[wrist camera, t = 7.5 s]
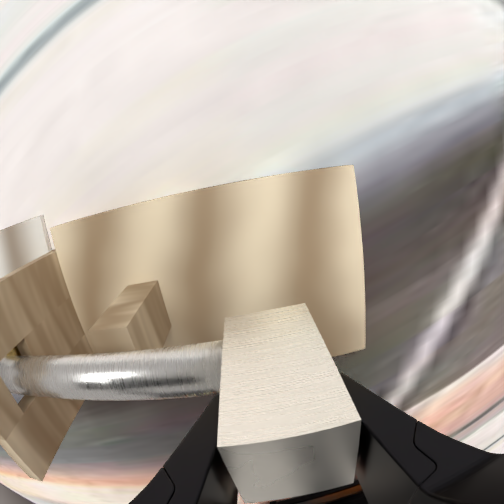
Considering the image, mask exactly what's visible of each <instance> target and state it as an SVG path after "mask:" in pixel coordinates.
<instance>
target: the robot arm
mask: <svg viewBox="0 0 504 504" xmlns="http://www.w3.org/2000/svg"><path fill="white" fill-rule="evenodd" d="M339 374H340V376H341V378H342V380H343V382H344V384H345V386H346V388H347V390H348V392H349V395H350V397H351V399H352V401H353V403H354V405H355V407H356V409H357V412H358V414H359V416H360V418H361V429H360V438H359V447H358V455H357V463H356V470H355V476H354V483H351V484H348V485H344V486H340V487H337V488H333V489H329V490H325V491H320V492H316V493H311V494H306V495H301V496H296V497H291V499H286V500H282V501H272V502H270V504H504V454H495V453H489V452H486V451H483V450H480V449H478V448H475V447H472V446H470V445H467V444H465V443H462V442H460V441H457V440H455V439H452V438H450V437H448V436H446V435H444V434H441V433H439V432H437V431H436V430H434V429H432V428H430V427H428V426H426V425H425V424H423V423H421V422H420V421H417V420H416V419H414V418H413V417H411V416H410V415H408V414H406V413H405V412H403V411H401V410H400V409H398V408H396V407H395V406H393V405H392V404H390V403H388V402H387V401H385V400H384V399H382V398H380V397H379V396H377V395H376V394H374V393H373V392H371V391H369V390H368V389H366V388H365V387H363V386H362V385H360V384H359V383H357V382H355V381H354V380H352V379H351V378H349V377H348V376H346V375H345V374H343V373H339ZM219 399H220V394H217V395H215V397H214V398H213V399H212V401H211V402H210V404H209V405H208V406H207V408H206V409H205V411H204V412H203V413H202V415H201V416H200V418H199V419H198V420H197V422H196V423H195V424H194V426H193V427H192V428H191V430H190V431H189V433H188V434H187V435H186V437H185V438H184V439H183V441H182V442H181V443H180V445H179V446H178V447H177V449H176V450H175V451H174V453H173V454H172V455H171V456H170V458H169V459H168V460H167V462H166V463H165V464H164V466H163V468H161V469H160V470H159V472H158V473H157V474H156V476H155V477H154V478H153V479H152V480H151V481H150V483H149V484H148V485H147V486H146V487H145V488H144V489H143V490H142V491H141V492H140V493H139V494H138V495H137V496H136V497H135V498H134V499H133V500H132V501H131V502H130V503H129V504H237V494H238V489H237V487H236V485H235V483H234V481H233V480H232V478H231V476H230V474H229V471H228V469H227V467H226V465H225V463H224V461H223V459H222V457H221V455H220V453H219V451H218V448H217V436H218V417H219Z"/></svg>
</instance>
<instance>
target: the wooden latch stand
mask: <svg viewBox="0 0 504 504" xmlns="http://www.w3.org/2000/svg"><path fill="white" fill-rule="evenodd" d="M50 231H51V235H52V238H53V242H54V246H55V250H52V249H51V245H50V241H49V238H48V234H47V230H46V225H45V221H44V217H43V215H40V216H37V217H34V218H32V219H29V220H26V221H24V222H21V223H18V224H16V225H13V226H10V227H8V228H5V229H3V230H0V361H1V360H2V359H3V358H4V357H5V356H6V355H7V354H8V353H9V352H10V351H11V350H12V349H13V348H14V347H15V346H16V345H17V348H18V350H19V352H20V354H21V356H47V355H78V354H96V353H111V352H124V351H136V350H146V349H156V348H165V347H174V346H182V345H190V344H197V343H204V342H211V341H218V340H223V336H224V322H225V318H226V317H232V316H238V315H244V314H250V313H255V312H261V311H266V310H271V309H277V308H282V307H287V306H292V305H297V304H302V303H305V304H306V306H307V308H308V310H309V312H310V314H311V316H312V318H313V320H314V322H315V324H316V326H317V328H318V330H319V332H320V334H321V336H322V339H323V341H324V343H325V345H326V347H327V349H328V351H329V353H330V355H331V357H335V356H339V355H343V354H347V353H351V352H354V351H358V350H362V349H365V284H364V263H363V248H362V235H361V224H360V214H359V205H358V196H357V188H356V180H355V173H354V166H353V165H344V166H336V167H328V168H320V169H313V170H306V171H299V172H292V173H286V174H279V175H273V176H267V177H261V178H255V179H250V180H244V181H239V182H233V183H228V184H223V185H218V186H213V187H208V188H203V189H198V190H193V191H188V192H184V193H179V194H175V195H170V196H166V197H162V198H157V199H153V200H149V201H145V202H141V203H137V204H133V205H129V206H125V207H121V208H117V209H113V210H110V211H106V212H102V213H99V214H95V215H91V216H88V217H84V218H81V219H77V220H74V221H71V222H67V223H64V224H61V225H57V226H55V227H52V228H50ZM83 402H84V400H78V399H61V398H49V397H38V396H29V395H24V397H23V398H22V399H21V401H20V402H19V403H18V404H17V403H16V401H15V399H14V398H13V396H12V395H11V393H10V391H9V390H8V388H7V386H6V385H5V383H4V381H3V380H2V378H1V376H0V445H1V446H2V447H3V448H4V450H5V451H6V452H7V453H8V454H9V455H10V457H11V458H12V459H13V460H14V461H15V462H16V463H17V464H18V466H19V467H20V468H21V469H22V470H23V471H24V472H25V473H26V474H27V475H28V476H29V477H30V478H33V479H36V480H39V481H43V479H44V477H45V474H46V472H47V470H48V468H49V466H50V464H51V462H52V460H53V458H54V456H55V454H56V452H57V450H58V448H59V446H60V444H61V443H62V441H63V439H64V437H65V435H66V433H67V431H68V429H69V427H70V426H71V424H72V422H73V420H74V418H75V416H76V415H77V413H78V411H79V409H80V407H81V406H82V404H83Z"/></svg>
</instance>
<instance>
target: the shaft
mask: <svg viewBox="0 0 504 504" xmlns="http://www.w3.org/2000/svg"><path fill="white" fill-rule="evenodd" d="M0 376H1V378H2V380H3V381H4V383H5V385H6V386H7V388H8V390H9V391H10V393H14V394H21V395H29V396H38V397H49V398H61V399H78V400H154V399H172V398H185V397H197V396H207V395H216V394H220V399H219V417H218V436H217V448H218V451H219V453H220V455H221V457H222V459H223V461H224V463H225V465H226V467H227V469H228V471H229V474H230V476H231V478H232V480H233V481H234V483H235V485H236V487H237V489H238V491H239V493H240V495H241V497H242V499H243V501H244V503H254V502H263V501H271V500H278V499H284V498H290V497H296V496H301V495H306V494H311V493H316V492H320V491H325V490H329V489H333V488H337V487H340V486H344V485H348V484H351V483H354V476H355V470H356V463H357V455H358V447H359V438H360V429H361V418H360V416H359V414H358V412H357V409H356V407H355V405H354V403H353V401H352V399H351V397H350V395H349V392H348V390H347V388H346V386H345V384H344V382H343V380H342V378H341V376H340V374H339V371H338V369H337V367H336V365H335V363H334V361H333V359H332V357H331V355H330V353H329V351H328V349H327V347H326V345H325V343H324V341H323V339H322V336H321V334H320V332H319V330H318V328H317V326H316V324H315V322H314V320H313V318H312V316H311V314H310V312H309V310H308V308H307V306H306V304H305V303H302V304H297V305H292V306H287V307H282V308H277V309H271V310H266V311H261V312H255V313H250V314H244V315H238V316H232V317H226V318H225V322H224V336H223V340H218V341H211V342H204V343H197V344H190V345H182V346H174V347H165V348H156V349H146V350H136V351H124V352H111V353H96V354H78V355H47V356H8V355H6V356H5V357H4V358H3V359H2V360H1V361H0Z"/></svg>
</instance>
